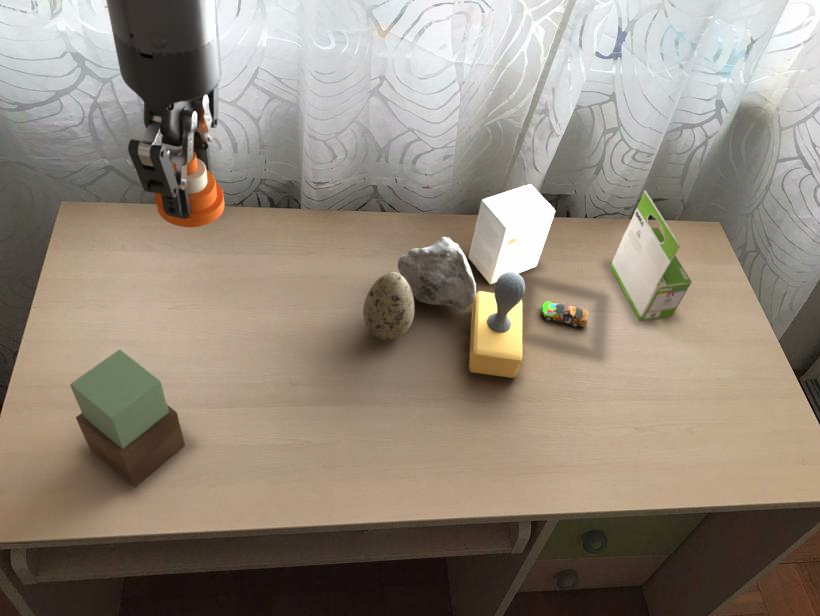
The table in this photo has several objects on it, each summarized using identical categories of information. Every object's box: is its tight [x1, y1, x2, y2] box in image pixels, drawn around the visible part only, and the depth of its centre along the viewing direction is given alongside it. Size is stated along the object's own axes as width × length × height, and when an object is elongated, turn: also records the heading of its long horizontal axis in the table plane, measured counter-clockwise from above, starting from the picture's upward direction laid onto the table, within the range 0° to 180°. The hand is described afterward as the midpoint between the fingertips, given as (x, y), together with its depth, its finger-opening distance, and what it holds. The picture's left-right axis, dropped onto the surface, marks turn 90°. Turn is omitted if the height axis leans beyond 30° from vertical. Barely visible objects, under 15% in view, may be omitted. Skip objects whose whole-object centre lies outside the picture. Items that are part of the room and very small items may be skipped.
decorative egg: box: [362, 271, 415, 341], centre depth 87 cm, size 6×6×10 cm
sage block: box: [69, 349, 169, 449], centre depth 69 cm, size 5×5×5 cm
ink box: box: [609, 189, 693, 321], centre depth 96 cm, size 10×5×14 cm, turn 16°
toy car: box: [540, 301, 588, 329], centre depth 96 cm, size 3×6×2 cm, turn 80°
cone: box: [154, 147, 225, 228], centre depth 68 cm, size 6×6×6 cm
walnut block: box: [75, 404, 186, 489], centre depth 74 cm, size 6×6×6 cm
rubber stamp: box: [468, 272, 526, 379], centre depth 88 cm, size 10×6×12 cm, turn 177°
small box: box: [468, 183, 556, 285], centre depth 97 cm, size 8×6×10 cm
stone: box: [397, 236, 477, 311], centre depth 91 cm, size 9×7×10 cm
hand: (189, 195), depth 69 cm, fingers closed on cone, 5 cm apart
